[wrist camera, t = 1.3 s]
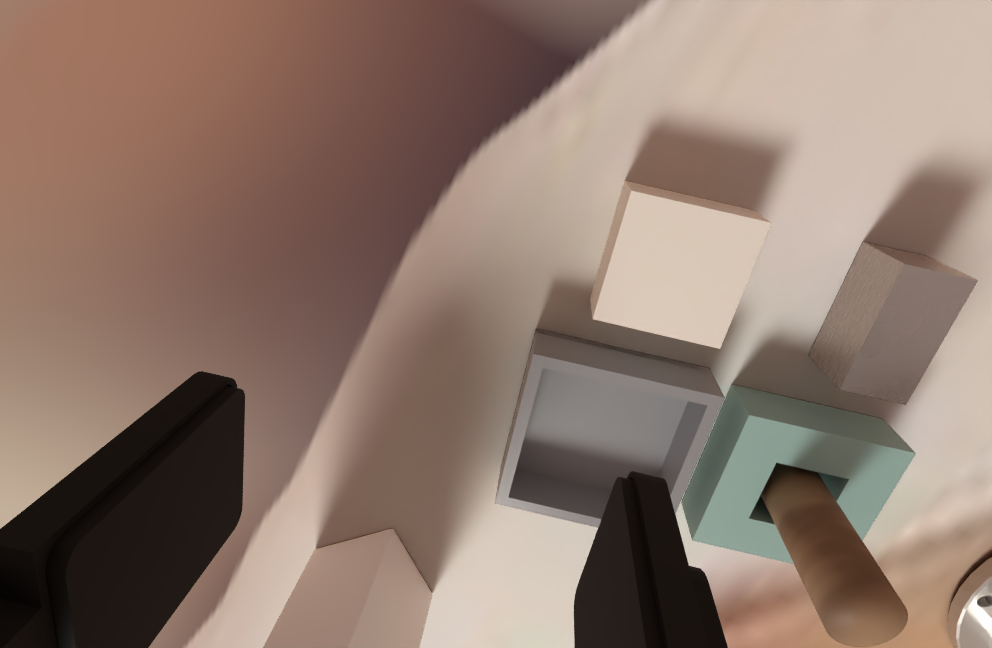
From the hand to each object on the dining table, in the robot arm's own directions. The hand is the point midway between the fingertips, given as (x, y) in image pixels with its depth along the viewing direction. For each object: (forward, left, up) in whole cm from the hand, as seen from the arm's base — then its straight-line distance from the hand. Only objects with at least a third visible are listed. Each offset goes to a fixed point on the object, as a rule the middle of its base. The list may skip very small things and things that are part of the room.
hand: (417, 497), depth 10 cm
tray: (-7, +9, -20) cm, 23 cm away
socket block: (-17, +9, -20) cm, 28 cm away
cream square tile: (-8, 0, -20) cm, 21 cm away
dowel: (-17, +9, -20) cm, 28 cm away
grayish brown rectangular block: (-17, 0, -20) cm, 26 cm away
